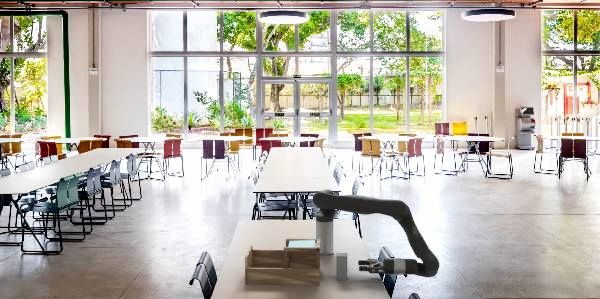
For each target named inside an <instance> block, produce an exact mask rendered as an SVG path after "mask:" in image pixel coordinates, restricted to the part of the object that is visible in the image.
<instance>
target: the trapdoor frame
mask: <svg viewBox="0 0 600 299" xmlns="http://www.w3.org/2000/svg"><path fill="white" fill-rule="evenodd" d="M295 240H315V247H288V245H289V241H295ZM316 243H317V245H316ZM253 246H254V245H253V244H250V246H249V248H248V250H247V252H246V255H245V256H244V269H245V270H244V283H245V284H246V285H248V284H249V285H295V286H296V285H299V286H300V285H301V286H302V285H306V286H310V285H311V286H312V285H313V286H319V285H320V283H321V281H320V279H321V276H320V273H321V254H320V239H316V238H286V239H285V246H283V249H272V248H271V249H269V248H268V249H267V248H265V249H261V248H260V249H259V248H257V249H256V248H254V247H253Z"/></svg>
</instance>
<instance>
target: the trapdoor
mask: <svg viewBox="0 0 600 299" xmlns="http://www.w3.org/2000/svg"><path fill="white" fill-rule="evenodd" d="M288 247H316V243H315V240H295V241H289V245H288Z"/></svg>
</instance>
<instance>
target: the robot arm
mask: <svg viewBox="0 0 600 299" xmlns="http://www.w3.org/2000/svg"><path fill="white" fill-rule="evenodd" d="M312 203H313V204H314V206H315V207H316V208H318V211H317V213H316V215H315V239H320V255H324V256H327V255H328V256H329V255H332V254H334V219H335V218H334V217H335V215H336V210H338V211H343V212H346V213H353V214H357V215H358V214H359V215H362V216H364V215H365V216H366V215H373V214H380V215H384V216H388V217H391V218H392V219H394V220H395V221H397V223H398V225H400V227H401V228H402V230H403V232H404V234H405V235H406V237H407V241H408V244H409V246H410V248H411V250H412V251H413V254H414V255H415V257H417V259H420V260H421V262H420V261H419V262H418V261H417V260H416V259H415V258H414V259H413V258H401V257H384V258H383V261H381V259H380V258H367V259H365V260H363V259H362V260H361V259H359V260H358V261H357V264H358V272H368V273H369V274H381V275H382V274H384V275H386V276H387V275H388V276H389V275H390V276H391V275H392V276H395V275H396V276H398V275H399V276H400V275H401V276H402V275H414V276H418V277H423V278H433V277H436V275H437V274H438V272H439V269H440V261H439V259H438V258H437V256H436V255H435V254H434V252H433V251H432V250H431V249H430V248H429V245H428V244H427V243H426V240H425V239H424V237H423V235H422V233H421V232H420V230H419V229H418V226H417V225H416V222H415V219H414V217H413V215H412V211H411V209H410V207H409V205H408V204H407V203H406V202H405V201H403V200H400V199H383V198H377V197H373V196H372V197H371V196H365V195H358V194H343V195H342V194H341V195H336V194H335V193H334V192H333V190H332V189H322V190H319V191H317V192H316V193H315V194H314V195H313V197H312ZM316 245H317V243H315V246H316Z"/></svg>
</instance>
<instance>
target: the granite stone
mask: <svg viewBox="0 0 600 299" xmlns="http://www.w3.org/2000/svg"><path fill="white" fill-rule="evenodd" d="M335 279H336V281H340V280H341V281H343V280H345V281H347V280H348V252H336V253H335Z"/></svg>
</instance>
